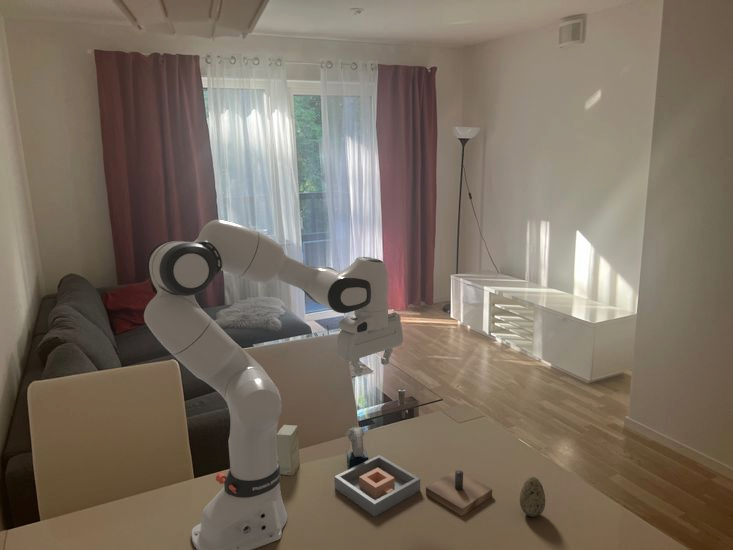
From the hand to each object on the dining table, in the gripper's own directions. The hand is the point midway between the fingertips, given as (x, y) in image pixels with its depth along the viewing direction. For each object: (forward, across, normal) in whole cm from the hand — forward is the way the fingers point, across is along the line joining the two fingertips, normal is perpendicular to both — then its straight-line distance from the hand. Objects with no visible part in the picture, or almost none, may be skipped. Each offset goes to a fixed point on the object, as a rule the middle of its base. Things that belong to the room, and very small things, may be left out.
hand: (372, 368), depth 143 cm
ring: (+30, +4, +6) cm, 31 cm away
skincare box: (+31, +16, -18) cm, 40 cm away
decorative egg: (+31, -17, +39) cm, 53 cm away
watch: (+31, 0, -7) cm, 32 cm away
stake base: (+31, -10, +22) cm, 39 cm away
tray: (+31, +4, +6) cm, 32 cm away
